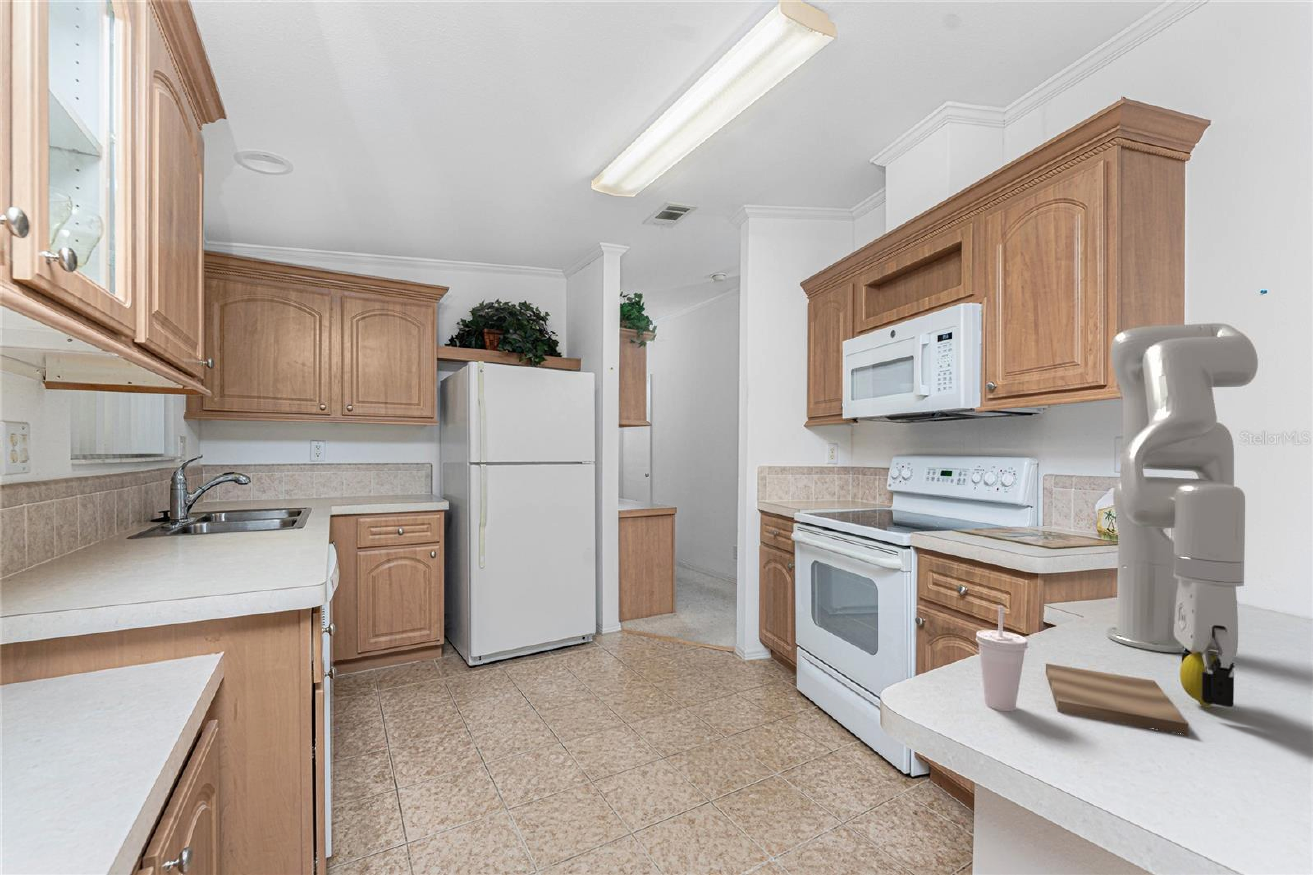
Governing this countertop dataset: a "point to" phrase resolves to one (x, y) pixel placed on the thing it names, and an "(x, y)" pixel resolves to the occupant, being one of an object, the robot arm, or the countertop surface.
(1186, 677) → the lemon
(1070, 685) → the cutting board
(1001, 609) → the smoothie
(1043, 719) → the countertop surface
